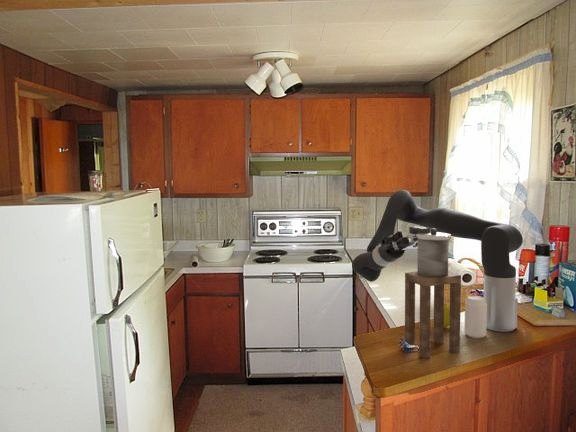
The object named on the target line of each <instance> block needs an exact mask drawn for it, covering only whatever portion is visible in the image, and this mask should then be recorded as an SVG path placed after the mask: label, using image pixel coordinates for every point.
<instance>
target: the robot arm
mask: <svg viewBox="0 0 576 432" xmlns="http://www.w3.org/2000/svg"><path fill="white" fill-rule="evenodd" d="M397 220H398V221H401V222H404V223H409V224H413V225H416V226H420V227H426V228H430V230H431V229H432V228H434V229H437V232H438V233H447V234H451V237H453V238H461V239H468V240H475V241H476V240H477V241H480V247H481V248H480V250H481V252H480V253H481V254H480V255H481V257H480V258H481V265H482V266H481V267H482V268H483V272H484V273H483V297H484V298H485V301H486V303H487V329H486V330H490V331H493V332H494V331H495V332H501V333H503V332H504V333H506V332H513V331H515V329H517V328H518V305H519V304H518V303H519V302H518V298H516V289H517V287H516V285H517V284H516V281H517V280H516V279H517V268H516V267H515V266H514V265H513V264H511V261H510V254H511V253H512V252H513V253H514V252H516V251H518V250H519V249H520V248H521V246H522V245H523V242H524V240H523V235H522V232H521V231H520V230H519V229H518V228H516V227H515V226H514V225H512V224H507V223H501V222H495V221H491V220H486V219H482V218H479V217H477V216H474V215H471V214H469V213H465V212H461V211H459V210H457V209H454V208H449V207H446V206H439V207H435V208H433V209H426V208H422V207H419V206H418V205H417V204H416V203H415V200H414V198H413V196H412V194H411V193H410V192H409V191H408V190H405V189H399V190H396V191H395V192H393V194H391V195H390V197H389V199H388V202H387V204H386V206H385V210H384V212H383V214H382V217H381V220H380V222H379V225H378V228H377V229H376V231H375V233H374V235H373V237H372V238H371V240H370V242H369V244H367V247H366V252H363V253H360V254H358V255H357V256H356V257H355V258H354V259H352V262H351V268H352V270H353V271H354V272H355V273H356V274H357V275H360V277H361V278H363V279H364V280H366V281H367V282H375V281H376V280H378V279H379V277H380V276H381V273H382V270H383V269H384V268H386V267H387V266H389V265H392V264H393V263H394V262H397V260H399V259H400V258H402V257H403V256H404V255H405V252H406V250H407V249H408V248H411V247H413V248H418V239H417V238H416V235H415V234H410V233H409V234H408V235H405V236H404V235H403V232H402V230H398V231H396V232H395V230H396V225H397V222H398V221H397ZM409 239H410V240H409Z"/></svg>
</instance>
